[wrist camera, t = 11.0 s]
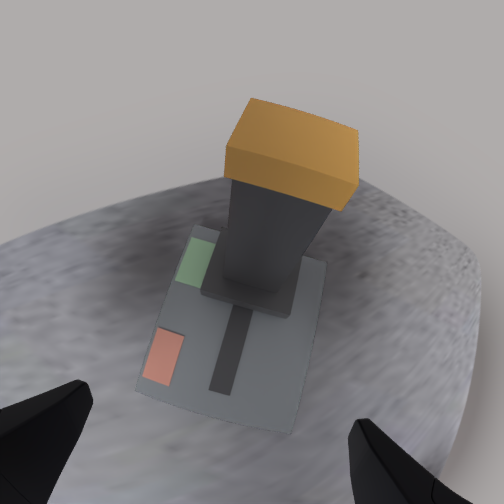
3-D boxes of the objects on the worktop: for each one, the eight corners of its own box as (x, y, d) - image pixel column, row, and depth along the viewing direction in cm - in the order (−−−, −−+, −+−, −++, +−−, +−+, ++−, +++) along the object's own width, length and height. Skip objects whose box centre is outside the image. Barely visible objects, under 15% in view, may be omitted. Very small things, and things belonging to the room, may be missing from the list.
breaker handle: (286, 318, 16) (386, 221, 6) (200, 294, 16) (183, 160, 6) (298, 257, 17) (378, 125, 8) (221, 235, 17) (233, 81, 8)
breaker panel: (282, 428, 15) (291, 434, 13) (143, 389, 15) (134, 390, 13) (317, 273, 20) (327, 261, 18) (195, 238, 20) (194, 223, 18)
